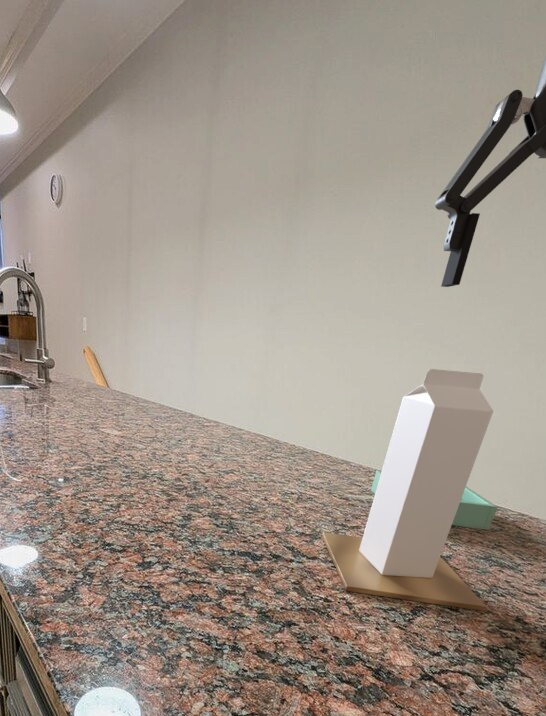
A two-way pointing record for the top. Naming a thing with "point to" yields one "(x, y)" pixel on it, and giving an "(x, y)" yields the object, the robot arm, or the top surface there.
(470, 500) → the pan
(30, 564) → the top surface
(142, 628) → the top surface
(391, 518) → the milk
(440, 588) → the cork mat
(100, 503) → the top surface
